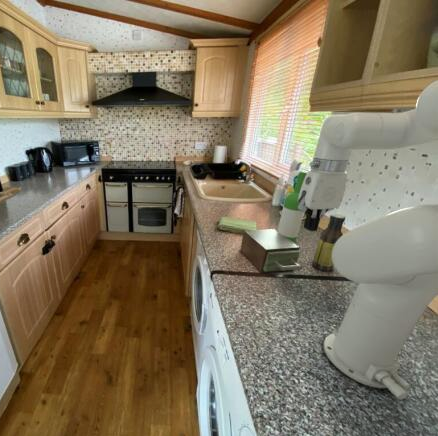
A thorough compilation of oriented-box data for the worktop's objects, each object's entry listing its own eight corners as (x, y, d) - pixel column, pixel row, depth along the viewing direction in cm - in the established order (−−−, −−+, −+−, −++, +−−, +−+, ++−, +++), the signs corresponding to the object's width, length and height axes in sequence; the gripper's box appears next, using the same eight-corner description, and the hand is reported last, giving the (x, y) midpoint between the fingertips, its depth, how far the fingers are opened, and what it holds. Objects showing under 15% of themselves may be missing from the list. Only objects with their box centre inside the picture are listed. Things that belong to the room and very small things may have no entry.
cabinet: (293, 269, 86) (299, 247, 83) (260, 272, 85) (266, 249, 81) (268, 248, 100) (273, 228, 96) (240, 250, 98) (243, 230, 94)
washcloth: (257, 236, 110) (258, 230, 108) (217, 230, 115) (217, 224, 114) (255, 225, 121) (256, 219, 120) (219, 220, 126) (219, 214, 125)
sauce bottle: (336, 270, 86) (356, 219, 78) (322, 272, 85) (341, 220, 77) (320, 260, 92) (337, 211, 84) (307, 262, 90) (323, 213, 83)
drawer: (305, 277, 80) (311, 259, 78) (273, 280, 79) (278, 261, 76) (271, 249, 97) (275, 233, 94) (244, 251, 95) (248, 235, 93)
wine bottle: (274, 235, 111) (290, 170, 99) (293, 238, 109) (312, 171, 97) (276, 243, 104) (293, 174, 93) (296, 246, 102) (317, 175, 90)
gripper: (314, 168, 59) (295, 236, 66) (366, 167, 61) (343, 233, 68) (292, 163, 66) (278, 225, 73) (340, 162, 68) (322, 222, 75)
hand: (309, 229), depth 70 cm, fingers closed
